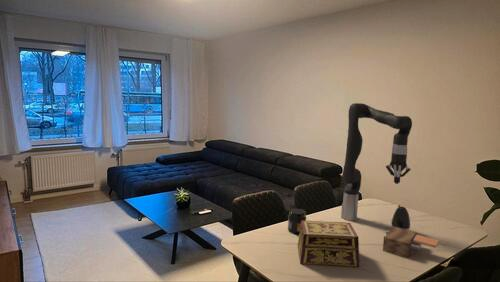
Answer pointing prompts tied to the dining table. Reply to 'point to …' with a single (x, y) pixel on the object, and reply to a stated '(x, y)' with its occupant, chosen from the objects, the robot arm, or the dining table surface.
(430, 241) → the keeper flap
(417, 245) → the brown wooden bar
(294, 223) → the supplement container
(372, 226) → the dining table surface
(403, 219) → the dark egg shape
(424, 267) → the dining table surface
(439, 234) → the dining table surface
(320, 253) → the decorative box
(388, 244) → the walnut block
